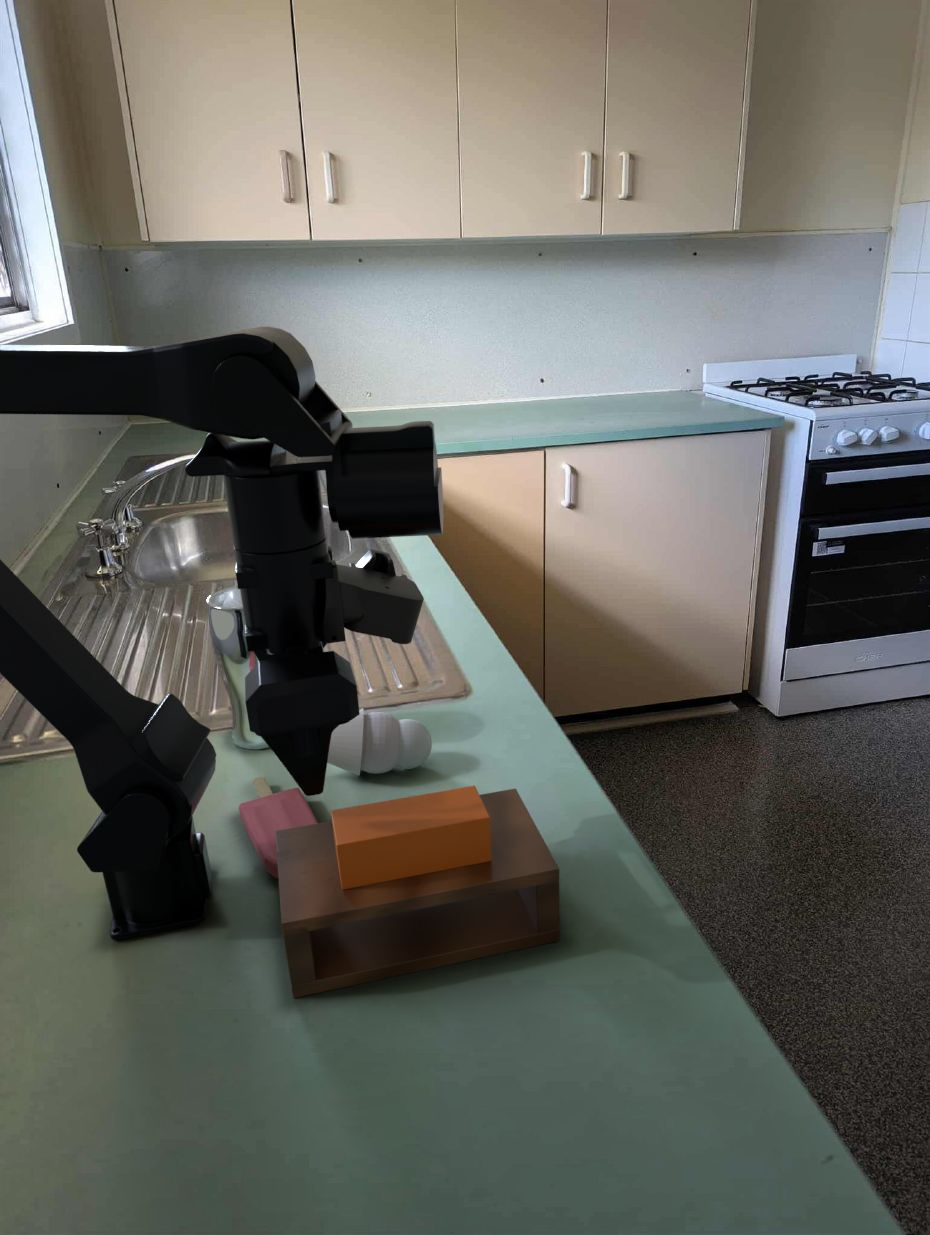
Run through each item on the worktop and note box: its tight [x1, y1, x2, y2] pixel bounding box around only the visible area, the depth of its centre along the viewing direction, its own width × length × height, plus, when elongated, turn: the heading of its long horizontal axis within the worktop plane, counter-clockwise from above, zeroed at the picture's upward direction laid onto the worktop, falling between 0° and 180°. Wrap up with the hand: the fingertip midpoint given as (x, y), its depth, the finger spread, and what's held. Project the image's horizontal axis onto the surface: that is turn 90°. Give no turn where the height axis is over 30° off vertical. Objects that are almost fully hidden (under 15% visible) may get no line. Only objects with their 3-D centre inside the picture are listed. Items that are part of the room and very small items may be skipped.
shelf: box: [275, 788, 561, 999], centre depth 61 cm, size 18×10×6 cm, turn 104°
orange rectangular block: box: [330, 785, 492, 890], centre depth 58 cm, size 10×4×4 cm, turn 104°
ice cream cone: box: [327, 708, 433, 776], centre depth 80 cm, size 6×6×15 cm
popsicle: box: [238, 776, 319, 880], centre depth 73 cm, size 5×2×15 cm
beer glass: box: [206, 585, 271, 750], centre depth 86 cm, size 7×7×15 cm
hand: (309, 758), depth 60 cm, fingers open, 9 cm apart
